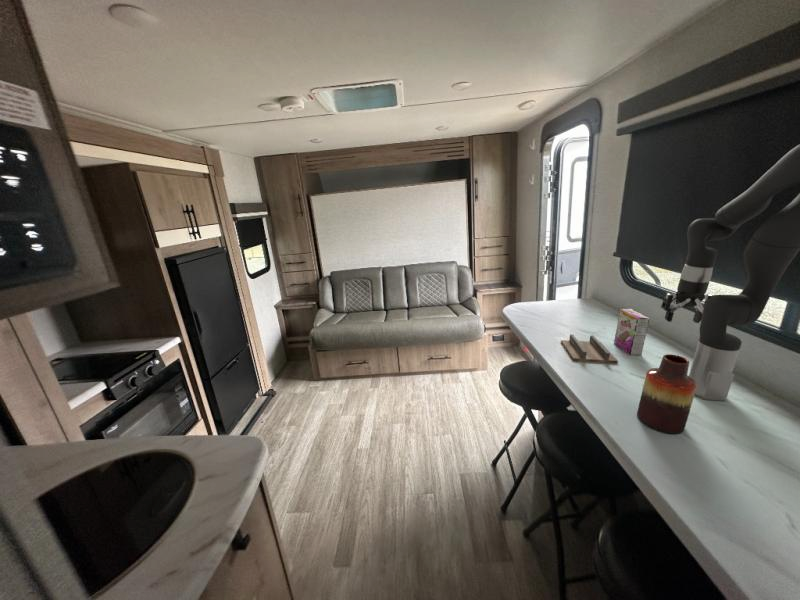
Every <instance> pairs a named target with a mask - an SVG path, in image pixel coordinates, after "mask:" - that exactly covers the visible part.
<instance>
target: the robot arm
mask: <svg viewBox="0 0 800 600" xmlns="http://www.w3.org/2000/svg"><path fill="white" fill-rule="evenodd" d="M799 183H800V143H799V144H797V145H796V146H795V147H793V148H791V149H790V150H789V151H788V152H787V153H786V154H784V155H783V156H782V157H781V158H780V159H779V160H777V162H776V163H775V164H774V165H773V166H772V167H770V169H768V170H767V171H766V172H765V173H764V174H762V175H761V176H760V177H759V179H758V180H756V181H755V182H754V183H753V184H752V185H751V186H750V187H749V188H748V189H747V190H744V192H742V193H741V194H739V195H738V196H737V197H735V198H734V199H732V200H731V201H729V202H728V203H726V204H725V205H723V206H722V207H721V208H720V209H718V210H717V212H716V213H715V217H713V218H711V217H710V218H708V217H705V218H704V217H703V218H698V219H697V218H696V219H695V220H694V221H692V222H691V223H690V225H688V228H687V234H686V235H687V248H688V251H687V252H688V253H687V256H686V259H685V264H684V266H683V268H682V271H681V274H680V277H679V281H678V285H677V288H676V289H677V292H675V293H670V292H666V293H665V294H664V297H663V300H662V303H661V306H660V308H662V310H664V311H666V312H665V316H664V319H665V321H666V322H668V323H672V321H673V318H674V314H675V313H674V312H675V311H677V310H679V309H681V308H682V307H683V308H686V307H690V308H695V310H696V311H695V313H694V315H693V318H692V321H693V322H694V323H696V324H699V325H700V326H699V338H698V339H699V340H698V342H697V346H696V349H695V353H694V356H693V360H692V362H691V367H690V370H689V374H688V376H689V377H691V378H692V379H694V381H695V382H696V384H697V388H696V391H695V395H694V396H697V397H700V398H701V399H703V400H707V401H709V400H711V401H721V402H722V401H723V402H724V401H725V402H726V401H727V398H728V396H729V392H730V389H731V386H732V383H733V380H734V377H735V374H734V373H733V370H734V368H735V365H736V361H737V359H738V356H739V352H740V350H741V347H742V340H741V338H739V337H737V335H733V334H731V333H729V332H727V328H728V327H727V326H735V327H739V326H740V327H741V326H743V327H745V326H751V325H753V324H754V323H756V322H757V320H758V319H760V317H761V315H762V313H763V311H764V310H765V308H766V306H767V304H768V302H769V300H770V297H771V296H772V293H773V292H774V290H775V288H776V286H777V284H778V282H780V280H781V278H782V276H783V275H784V273H785V271H786V270H787V268H788V267H789V265H790V264H791V263H792V261H794V259H795V257H796V256H797V255H798V253H799V252H800V192H799V193H798V194H797V196H796V197H795V198H794V199H792V201H791V202H789V203H788V204H787V205H786V206H785V207H784V208H782V209H781V210H779V211H777V213H776V214H774V215H772V216H771V217H769V219H767V220H766V221H764V222H763V223H762V224H761V225H760V226H759V227H758V228H757V229H755V232H754V233H753V234H752V236H751V238H750V240H749V241H748V243H747V245H746V247H745V249H744V251H743V263H744V266H745V270H746V272H747V282H746V284H745V286H744V288H743V289H742V291H740V293H739V294H714V295H713V294H711V293H707V291H708V288H709V285H710V281H711V278H712V276H713V269H714V266H715V263H716V259H717V257H718V250H717V249H715V248H713V247H710V246H709V247H708V246H706V241H721V240H724V239H728V238H729V237H731V236H732V235H733V234H734V233H735V232H736V231H737V230H738V229H739V228H740V227H741V225H743V224H745V223H746V222H748V221H750V220H751V219H754V218H755V217H757V216H758V215H760V214H761V213H762V212H764V211H765V210H766V209H767V208H768V207H769V205H770V204H771V202H772V199H773V197H775V195H776V194H777V193H779V192H781V191H782V190H783V191H784V190H785V189H787V188H790V187H792V186H793V185H797V184H799ZM706 293H707V294H706ZM702 301H704V303H703V304H702V303H701V302H702Z"/></svg>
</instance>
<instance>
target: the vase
mask: <svg viewBox="0 0 800 600" xmlns="http://www.w3.org/2000/svg"><path fill="white" fill-rule="evenodd" d="M689 365H690V361H689V359H687V358H685V357H683V356H681V355H677V354H667V353H666V354H664V355H663V356H662V359H661V362H660V364H659V367H652V368H649V369H648V370H647V371H646V374H645V378H644V382H643V385H642V386H643V387H642V391H641V395H640V400H639V403H638V407H637V412H636V416H637V418H638V420H639V421H640V423H642V424H643V425H644V426H646V427H647V428H649V429H651V430H653V431H656V432H659V433H663V434H665V435H680V434H682V433H683V432H684V431H685V428H686V425H687V422H688V419H689V414H690V412H691V408H692V405H693V401H694V399H695V398H694V397H695V396H696V395H695V391H696V388H697V384H696V382H695V381H694V379H692V378H691V377H689V374H688V372H689V367H690V366H689Z"/></svg>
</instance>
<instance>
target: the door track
mask: <svg viewBox="0 0 800 600" xmlns="http://www.w3.org/2000/svg"><path fill="white" fill-rule="evenodd" d="M560 343H562V344H561V345H562V346H564V347H563V348H564V349H566V350H565V351H566V353H567V352H568V353H567V354H568V356H569V355H570V356H569V358H570V359H571V360H572V361H573V362H582V361H585V362H586V363H600V364H601V363H603V364H614V365H615V364H618V363H619V360H618V359H617V358H616V357H615V356H614V355H613V354H612V352H610V351H609V349H608V348H607V347H606V346H605V345H604V344H603V343H602V342H601V341H599V340H598V339H597V338H596V337H595V336H594V335H591V334H590V336H589V341H588V340H587V341H586V340H585V341H584V340H578V339H577V338H576V336H575V334H571V333H570V334H569V340H567V339H561V340H560ZM585 362H584V363H585Z"/></svg>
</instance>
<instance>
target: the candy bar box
mask: <svg viewBox="0 0 800 600" xmlns="http://www.w3.org/2000/svg"><path fill="white" fill-rule="evenodd" d="M618 313H619V314H618V318H617V319H618V320H617V325H616V330H615V335H614V336H615V337H614V340H613V344H614V345H615V346H616V347H618V348H619V349H621V350H622V351H624V352H625V353H627V354H628V355H629V356H642V354H643V351H644V345H645V341H646V337H647V331H648V327H649V323H650V317H648V316H646V315H645V314H642V313H640V312H638V311H636V310H634V309H633V308H620V309H619V312H618Z"/></svg>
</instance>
